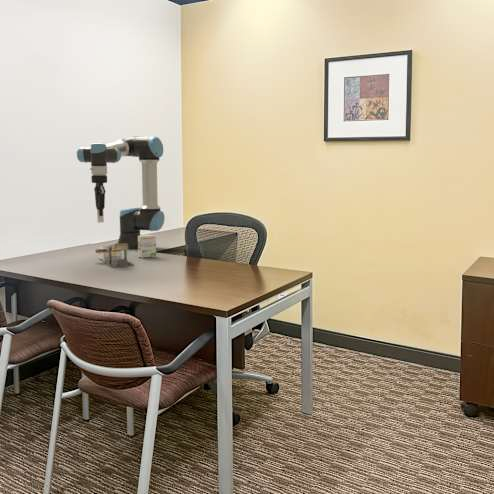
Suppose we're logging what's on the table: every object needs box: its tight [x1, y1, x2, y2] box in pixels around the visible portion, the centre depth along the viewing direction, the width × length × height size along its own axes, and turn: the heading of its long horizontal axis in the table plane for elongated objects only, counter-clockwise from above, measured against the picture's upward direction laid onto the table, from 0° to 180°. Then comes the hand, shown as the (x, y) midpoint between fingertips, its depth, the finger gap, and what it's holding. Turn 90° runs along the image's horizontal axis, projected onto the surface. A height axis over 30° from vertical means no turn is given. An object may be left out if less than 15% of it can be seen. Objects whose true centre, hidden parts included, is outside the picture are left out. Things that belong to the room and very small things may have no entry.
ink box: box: [137, 234, 157, 258], centre depth 299 cm, size 9×5×12 cm, turn 122°
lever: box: [95, 243, 129, 254], centre depth 279 cm, size 18×12×3 cm, turn 28°
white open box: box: [98, 246, 123, 262], centre depth 293 cm, size 9×10×6 cm
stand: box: [102, 247, 135, 269], centre depth 279 cm, size 17×11×8 cm, turn 28°
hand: (100, 222), depth 281 cm, fingers closed
